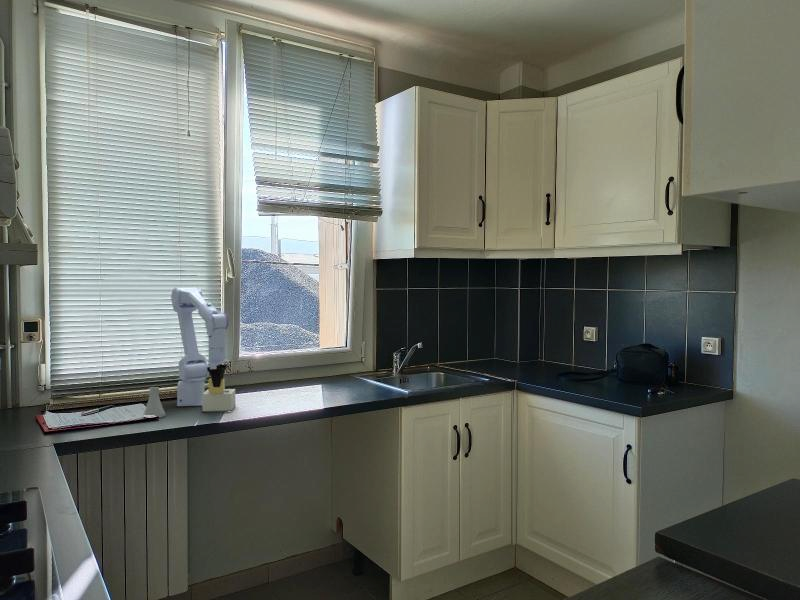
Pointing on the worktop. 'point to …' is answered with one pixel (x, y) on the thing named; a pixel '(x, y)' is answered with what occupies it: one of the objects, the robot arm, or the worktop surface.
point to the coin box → (218, 401)
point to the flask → (154, 404)
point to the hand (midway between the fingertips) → (217, 386)
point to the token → (217, 389)
